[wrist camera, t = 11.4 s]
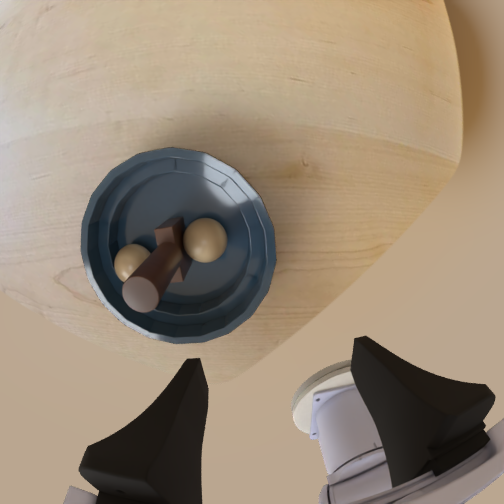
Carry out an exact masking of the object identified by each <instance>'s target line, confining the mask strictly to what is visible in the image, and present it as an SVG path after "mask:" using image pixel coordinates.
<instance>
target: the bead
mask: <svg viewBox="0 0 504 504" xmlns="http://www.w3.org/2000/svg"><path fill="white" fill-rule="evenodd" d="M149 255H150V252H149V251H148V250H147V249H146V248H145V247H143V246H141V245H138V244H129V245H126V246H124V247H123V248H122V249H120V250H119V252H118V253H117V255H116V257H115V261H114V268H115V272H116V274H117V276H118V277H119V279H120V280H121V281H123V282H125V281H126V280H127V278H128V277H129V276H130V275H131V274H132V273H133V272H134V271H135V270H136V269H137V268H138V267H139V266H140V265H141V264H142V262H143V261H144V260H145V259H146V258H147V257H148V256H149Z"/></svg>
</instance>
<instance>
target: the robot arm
mask: <svg viewBox="0 0 504 504" xmlns="http://www.w3.org/2000/svg"><path fill="white" fill-rule="evenodd" d="M350 371H351V374H352V377H353V379H354V382H355V384H351V385H347V386H342V387H338V388H333V389H328V390H323V391H318V392H315V393H314V394H313V402H312V414H311V426H310V436H309V437H310V439H311V440H312V439H313V440H314V439H318V440H319V444H320V448H321V451H322V455H323V459H324V462H325V466H326V470H327V472H328V474H329V475H328V476H327V479H328V483H329V484H327V485H324V486H323V488H322V490H321V492H320V494H319V504H464V503H466V502H467V501H468V500H470V499H471V498H473V497H474V496H475V495H477V494H478V493H480V492H481V491H482V490H483V489H485V488H486V487H487V486H489V485H490V484H491V483H492V482H494V481H495V480H496V479H497V478H498V477H499V476H501V475H502V474H503V473H504V419H502V420H501V421H500V422H498V423H497V424H496V425H494V426H493V427H492V428H491V429H490V430H489V431H487V433H486V432H485V431H484V428H485V426H486V425H485V423H484V422H483V420H484V418H485V417H486V415H487V414H488V412H489V411H490V409H491V408H492V406H493V404H494V401H495V395H494V394H493V392H492V391H491V390H490V389H489V388H488V387H487V385H486V384H476V383H467V382H460V381H455V380H452V379H448V378H445V377H441V376H438V375H435V374H433V373H430V372H428V371H425V370H423V369H421V368H418V367H416V366H414V365H412V364H410V363H409V362H407V361H405V360H403V359H401V358H400V357H398V356H396V355H395V354H393V353H392V352H390V351H389V350H387V349H385V348H384V347H382V346H381V345H379V344H378V343H376V342H375V341H373V340H372V339H370V338H369V337H367V336H363V337H359V338H355V339H354V346H353V354H352V361H351V368H350ZM207 411H208V385H207V382H206V378H205V375H204V371H203V368H202V364H201V360H200V358H193V359H187V360H186V361H185V362H184V363H183V365H182V366H181V368H180V369H179V371H178V372H177V373H176V375H175V376H174V378H173V379H172V380H171V382H170V383H169V384H168V386H167V387H166V388H165V389H164V391H163V392H162V393H161V394H160V395H159V397H157V399H156V400H155V401H154V402H153V403H152V404H151V405H150V406H149V407H148V408H147V409H146V410H145V411H144V412H143V413H142V414H141V415H139V416H138V417H137V418H136V419H134V420H133V421H132V422H130V423H129V424H128V425H127V426H125V427H124V428H122V429H121V430H119V431H117V432H116V433H114V434H112V435H111V436H109V437H107V438H105V439H103V440H101V441H99V442H96V443H94V444H92V445H90V446H88V447H87V449H86V451H85V453H84V456H83V458H82V461H81V464H80V466H79V472H80V474H81V476H83V477H84V479H86V480H87V481H88V482H89V483H90V484H92V485H93V486H94V487H95V488H96V489H97V490H99V494H98V496H96V495H95V494H92V493H90V492H87V491H84V490H82V489H79V488H76V487H73V486H69V489H68V492H67V495H66V497H65V501H64V503H63V504H202V487H201V455H202V443H203V436H204V430H205V424H206V417H207Z"/></svg>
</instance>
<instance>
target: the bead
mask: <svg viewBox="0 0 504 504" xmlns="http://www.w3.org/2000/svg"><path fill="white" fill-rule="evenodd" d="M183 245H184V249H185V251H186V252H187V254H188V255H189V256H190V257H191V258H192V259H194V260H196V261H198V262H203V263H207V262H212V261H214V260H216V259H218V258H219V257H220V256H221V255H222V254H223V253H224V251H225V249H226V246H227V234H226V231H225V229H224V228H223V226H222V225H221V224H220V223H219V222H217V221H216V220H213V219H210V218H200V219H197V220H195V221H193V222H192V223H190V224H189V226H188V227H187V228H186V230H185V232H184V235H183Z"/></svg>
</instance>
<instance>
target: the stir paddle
mask: <svg viewBox="0 0 504 504" xmlns="http://www.w3.org/2000/svg"><path fill="white" fill-rule="evenodd" d="M185 230H186V229H185V224H184V218H183V217H178V218H171V219H168V220H166V221H165V222H164V223H162V224H161V225H160V226H158V227H157V228H156V229H154V232H155V236H156V241H157V246H158V247H157V248H156V249H155V250H154V251H153V252H152V253H151V254H150V255H149V256H148V257H147V258H146V259H145V260H144V261H143V262H142V264H141V265H140V266H139V267H138V268H137V269H136V270H135V271H134V272H133V273H132V274H131V275H130V276H129V277H128V278H127V280H126V281H125V282H124V284H123V287H122V295H123V298H124V300H125V302H126V303H127V305H128V306H129V307H130V308H132V309H133V310H135V311H138V312H142V313H146V312H150V311H152V310H154V309H155V308H156V307H157V305H158V304H159V302H160V300H161V298H162V296H163V295H164V293H165V291H166V289H167V287H168V286H169V284H170V283H175V282H183V281H184V279H185V277H186V275H187V273H188V270H189V268H190V266H191V264H192V261H191V257H190V256H189V255H188V254H187V252H186V251H185V249H184V245H183V235H184V232H185Z"/></svg>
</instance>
